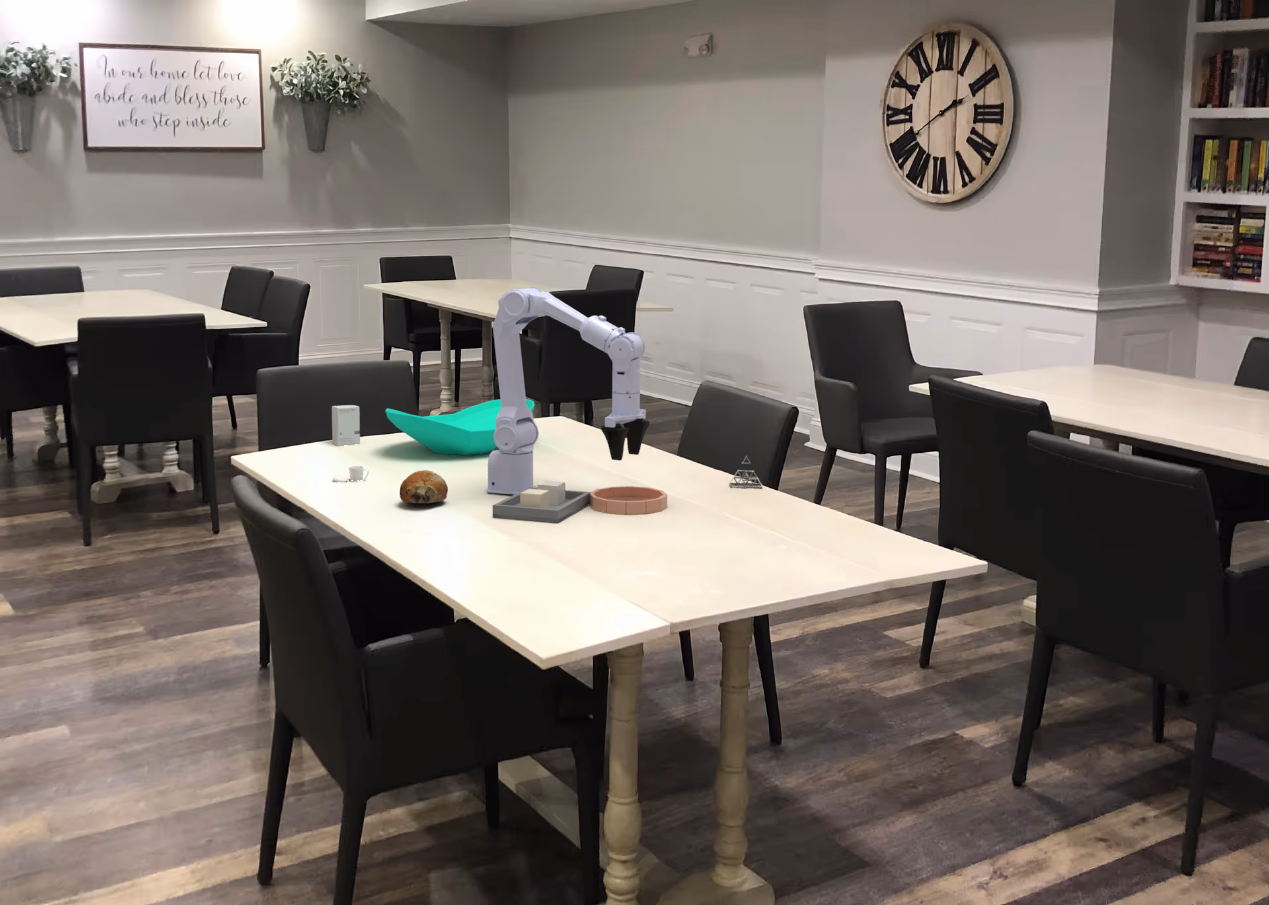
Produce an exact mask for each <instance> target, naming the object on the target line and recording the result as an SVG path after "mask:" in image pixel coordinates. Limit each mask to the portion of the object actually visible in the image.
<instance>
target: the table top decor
mask: <svg viewBox="0 0 1269 905" xmlns="http://www.w3.org/2000/svg"><path fill="white" fill-rule="evenodd" d="M526 405H527V407H528V408H529V409H530V410H531V411H532V413H533V412H534V408H535V406H536V404H535V402H534V400H531V399H529V398H528V399H527V398H526ZM500 410H501V399H494V400H488V401H485V402H482V403H479V404H478V403H477V404H476V405H472V406H469V407H466V408H464V409H462V410H459V411H457V412H454V413H450V414H448V413H447V414H439V415H438V414H437V415H429V416H427V415H426V416H419V415H415V414H410V413H407V412H403V411H399V410H396V409H392V408H386V409H385V410H384V411H385V414H386V417H387V419H388V420H389V421H390V422H391V423H392V424H393V425H394V426H395V427H396V428H398V429H399V430H400V431H401V432H403V433H404V434H406V435H407V436H409V437H410V438H412V439H413V440H415V441H417V442H418V443H420V444H421V445H423V446H424V447H425V448H427V449H429V450H431V451H432V452H434V453H437V454H441V453H443V454H442V455H460V454H461V455H462V456H467V455H468V456H475V455H476V456H477V455H483V454H488V453H489V454H490V453H491V452H492V451H494V450H496V449H497V448H498V447H497V446H496V444H495V442H494V432H495V429H496V417H497V415H498V414H499V412H500Z"/></svg>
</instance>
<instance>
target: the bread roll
mask: <svg viewBox="0 0 1269 905" xmlns="http://www.w3.org/2000/svg"><path fill="white" fill-rule="evenodd" d="M448 491H449V487H448V484H447V482H446V480H445V478H443V477H442V476H441V475H440V474H438V473H436V472H434V471H431V470H429V469H428V470H427V469H426V470H417V471H414V472H412V473H410V474H409V475H408V476H407V477H406V478H405V479H403V481H402V482H401V484H400V488H399V498H400V500H401V501H402V502H403V503H409V504H433V503H441V502H442V501H444V500H446V499H447V496H448Z"/></svg>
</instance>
